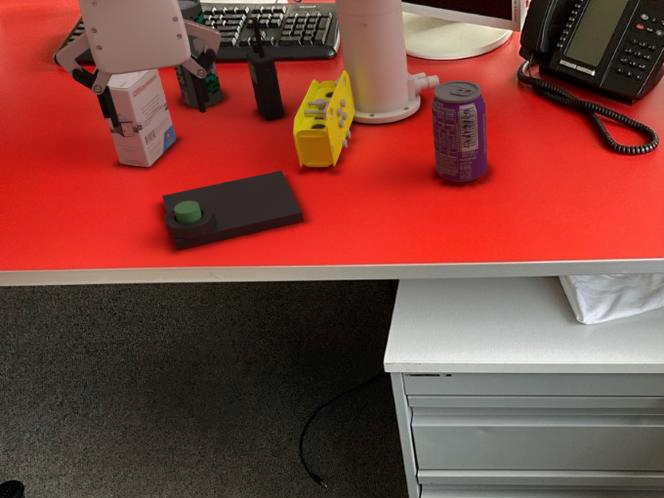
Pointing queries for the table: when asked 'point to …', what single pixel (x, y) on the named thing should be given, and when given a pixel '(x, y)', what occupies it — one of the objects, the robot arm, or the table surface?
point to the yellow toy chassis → (324, 122)
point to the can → (193, 12)
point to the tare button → (187, 212)
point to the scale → (233, 209)
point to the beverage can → (459, 131)
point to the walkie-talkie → (264, 78)
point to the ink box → (140, 118)
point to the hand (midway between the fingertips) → (159, 115)
